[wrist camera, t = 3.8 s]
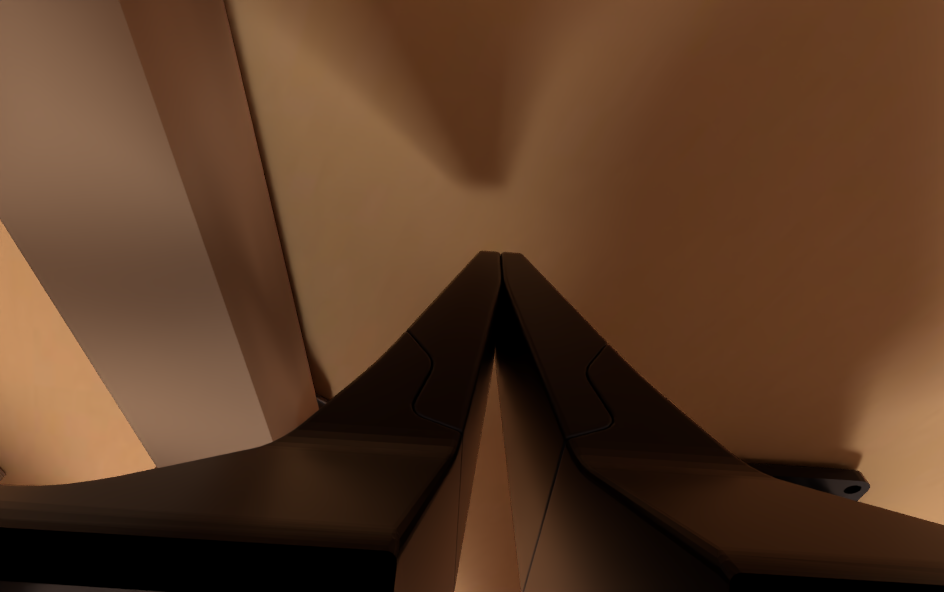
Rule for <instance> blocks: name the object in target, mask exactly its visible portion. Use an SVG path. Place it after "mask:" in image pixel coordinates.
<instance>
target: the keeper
mask: <svg viewBox="0 0 944 592" xmlns="http://www.w3.org/2000/svg"><path fill="white" fill-rule="evenodd" d="M5 475H6V474H5V473H4V472H3V471H2V470H1V469H0V480H1V479H2V478H3V477H4V476H5Z"/></svg>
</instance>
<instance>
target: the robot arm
mask: <svg viewBox="0 0 944 592" xmlns="http://www.w3.org/2000/svg"><path fill="white" fill-rule="evenodd" d="M494 354H495V363H496V373H497V382H498V391H499V400H500V409H501V418H502V427H503V436H504V445H505V454H506V463H507V472H508V481H509V490H510V499H511V508H512V517H513V526H514V535H515V544H516V553H517V562H518V571H519V580H520V589H521V592H944V525H941V524H938V523H934V522H930V521H927V520H923V519H919V518H916V517H912V516H909V515H905V514H901V513H898V512H894V511H891V510H887V509H883V508H880V507H876V506H873V505H869V504H865V503H862V502H858V500H859V499H860V498H861V497H862V496H863V495H864V494H865V493H866V492H867V491H868V490H869V488H870V484H869V483H868V482H867V480H866V479H865V477H864V476H863V475H862V473H861V472H859V471H856V470H848V469H832V468H816V467H800V466H785V465H769V464H753V463H744V462H743V461H741V460H740V459H738V458H737V457H736V456H734V455H733V454H732V453H731V452H729V451H728V450H727V449H725V448H724V447H723V446H722V445H721V444H720V443H718V442H717V441H716V440H715V439H714V438H712V437H711V436H710V435H709V434H708V433H707V432H705V431H704V430H703V429H702V428H701V427H699V426H698V425H697V424H696V423H695V422H693V421H692V420H691V419H690V418H689V417H688V416H686V415H685V414H684V413H683V412H682V411H680V410H679V409H678V408H677V407H676V406H675V405H673V404H672V403H671V402H670V401H669V400H667V399H666V398H665V397H664V396H663V395H662V394H661V393H659V392H658V391H657V390H656V389H655V388H654V387H653V386H651V385H650V384H649V383H648V382H647V381H646V380H645V379H644V378H642V377H641V376H640V375H639V374H638V373H637V372H636V371H635V370H634V369H633V368H632V367H631V366H630V365H629V364H628V363H627V362H626V361H625V360H624V359H623V358H622V357H621V356H620V355H619V354H618V353H617V352H616V351H615V350H614V349H613V348H612V347H611V346H610V345H607V342H606V341H605V340H604V339H603V338H602V337H601V336H600V335H599V334H598V332H597V331H596V330H595V329H594V328H593V327H592V326H591V325H590V324H589V323H588V322H587V321H586V320H585V319H584V318H583V317H582V316H581V315H580V314H579V313H578V312H577V311H576V310H575V309H574V308H573V307H572V305H571V304H570V303H569V302H568V301H567V300H566V299H565V298H564V297H563V296H562V295H561V294H560V293H559V292H558V291H557V290H556V289H555V288H554V287H553V286H552V285H551V284H550V283H549V282H548V281H547V280H546V278H545V277H544V276H543V275H542V274H541V273H540V272H539V271H538V270H537V269H536V268H535V267H534V266H533V265H532V264H531V263H530V262H529V261H528V260H527V259H526V258H525V257H524V256H523V255H522V254H520V253H509V252H504V253H502V254H501V256H500V253H499V252H492V251H480V252H479V253H478V254H477V255H476V256H475V257H474V258H473V259H472V260H471V261H470V262H469V263H468V264H467V266H466V267H465V268H464V269H463V270H462V271H461V272H460V273H459V274H458V275H457V276H456V277H455V279H454V280H453V281H452V282H451V283H450V284H449V285H448V286H447V287H446V288H445V289H444V290H443V292H442V293H441V294H440V295H439V296H438V297H437V298H436V299H435V300H434V301H433V302H432V303H431V305H430V306H429V307H428V308H427V309H426V310H425V311H424V312H423V313H422V314H421V315H420V316H419V318H418V319H417V320H416V321H415V322H414V323H413V324H412V325H411V326H410V327H409V328H408V329H407V331H406V332H405V333H403V334H402V336H401V337H400V338H399V339H398V340H397V341H396V342H395V343H394V344H393V345H392V346H391V347H390V348H389V349H388V350H387V351H386V352H385V353H384V354H383V355H382V356H381V357H380V358H379V359H378V360H377V361H376V362H375V363H374V364H373V365H371V366H370V367H369V368H368V369H367V370H366V371H365V372H363V373H362V374H361V375H360V376H359V377H358V378H356V379H355V380H354V381H353V382H352V383H350V384H349V385H348V386H347V387H346V388H344V389H343V390H342V391H341V392H339V393H338V394H337V395H336V396H335V397H333V398H332V399H331V400H330V401H329V402H327V403H326V404H325V405H324V406H323V407H321V408H320V409H319V410H318V411H316V412H315V413H314V414H313V415H312V416H310V417H309V418H308V419H307V420H306V421H304V422H303V423H302V424H300V425H299V426H298V427H296V428H295V429H294V430H292V431H291V432H289V433H288V434H286V435H284V436H283V437H281V438H279V439H277V440H275V441H273V442H271V443H268V444H265V445H263V446H259V447H256V448H251V449H246V450H242V451H237V452H232V453H227V454H223V455H218V456H213V457H208V458H203V459H199V460H194V461H189V462H184V463H179V464H175V465H170V466H165V467H160V468H155V469H151V470H146V471H141V472H136V473H132V474H127V475H122V476H117V477H111V478H105V479H99V480H93V481H86V482H79V483H71V484H61V485H45V486H20V485H4V484H0V592H454V590H455V584H456V578H457V572H458V567H459V561H460V555H461V549H462V543H463V538H464V532H465V526H466V520H467V514H468V509H469V503H470V497H471V491H472V485H473V480H474V474H475V468H476V462H477V456H478V451H479V445H480V439H481V433H482V427H483V422H484V416H485V410H486V404H487V398H488V393H489V387H490V381H491V375H492V369H493V362H494Z"/></svg>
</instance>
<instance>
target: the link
mask: <svg viewBox="0 0 944 592" xmlns="http://www.w3.org/2000/svg"><path fill="white" fill-rule="evenodd" d="M0 220H1V221H2V223H3V224H4V226H5V228H6V229H7V231H8V232H9V234H10V236H11V237H12V239H13V240H14V242H15V243H16V245H17V247H18V248H19V250H20V251H21V253H22V255H23V256H24V258H25V259H26V261H27V262H28V264H29V266H30V267H31V269H32V270H33V272H34V274H35V275H36V277H37V278H38V280H39V281H40V283H41V285H42V286H43V288H44V289H45V291H46V293H47V294H48V296H49V297H50V299H51V300H52V302H53V304H54V305H55V307H56V308H57V310H58V312H59V313H60V315H61V316H62V318H63V319H64V321H65V323H66V324H67V326H68V327H69V329H70V331H71V332H72V334H73V335H74V337H75V338H76V340H77V342H78V343H79V345H80V346H81V348H82V350H83V351H84V353H85V354H86V356H87V357H88V359H89V361H90V362H91V364H92V365H93V367H94V369H95V370H96V372H97V373H98V375H99V376H100V378H101V380H102V381H103V383H104V384H105V386H106V388H107V389H108V391H109V392H110V394H111V395H112V397H113V399H114V400H115V402H116V403H117V405H118V407H119V408H120V410H121V411H122V413H123V414H124V416H125V418H126V419H127V421H128V422H129V424H130V426H131V427H132V429H133V430H134V432H135V433H136V435H137V437H138V438H139V440H140V441H141V443H142V445H143V446H144V448H145V449H146V451H147V452H148V454H149V456H150V457H151V459H152V460H153V462H154V464H155V465H156V467H155V468H160V467H165V466H170V465H175V464H179V463H184V462H189V461H194V460H199V459H203V458H208V457H213V456H218V455H223V454H227V453H232V452H237V451H242V450H246V449H251V448H256V447H259V446H263V445H265V444H268V443H271V442H273V441H275V440H277V439H279V438H281V437H283V436H284V435H286V434H288V433H289V432H291V431H292V430H294V429H295V428H296V427H298V426H299V425H300V424H302V423H303V422H304V421H306V420H307V419H308V418H309V417H310V416H312V415H313V414H314V413H315V412H316V411H318V410H319V407H318V403H317V399H316V394H315V390H314V386H313V382H312V377H311V373H310V369H309V364H308V360H307V356H306V352H305V347H304V343H303V339H302V334H301V330H300V326H299V322H298V317H297V313H296V309H295V305H294V300H293V296H292V292H291V287H290V283H289V279H288V275H287V270H286V266H285V262H284V258H283V253H282V249H281V245H280V240H279V236H278V232H277V228H276V223H275V219H274V215H273V210H272V206H271V202H270V198H269V193H268V189H267V185H266V181H265V176H264V172H263V168H262V163H261V159H260V155H259V151H258V146H257V142H256V138H255V134H254V129H253V125H252V121H251V116H250V112H249V108H248V104H247V99H246V95H245V91H244V86H243V82H242V78H241V74H240V69H239V65H238V61H237V57H236V52H235V48H234V44H233V39H232V35H231V31H230V27H229V22H228V18H227V14H226V10H225V5H224V1H223V0H0Z"/></svg>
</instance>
